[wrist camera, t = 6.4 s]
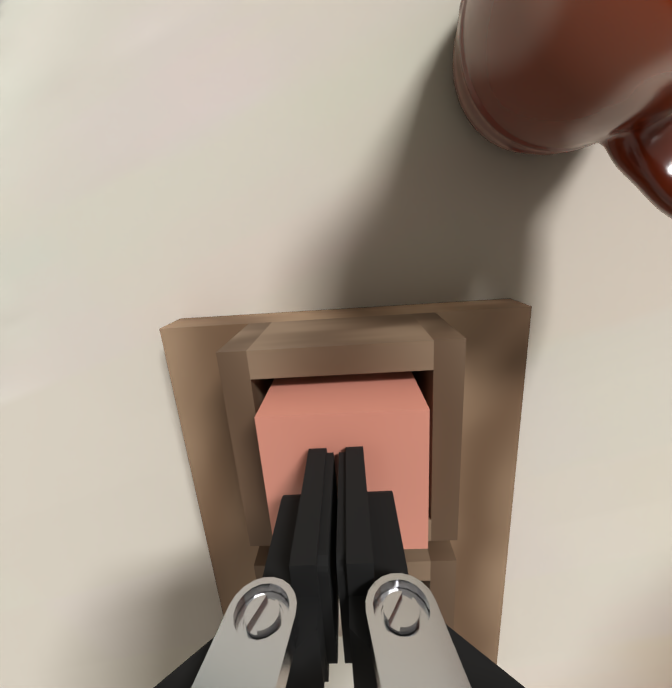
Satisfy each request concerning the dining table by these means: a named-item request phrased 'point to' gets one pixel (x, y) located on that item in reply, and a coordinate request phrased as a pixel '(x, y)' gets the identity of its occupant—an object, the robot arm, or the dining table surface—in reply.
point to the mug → (572, 81)
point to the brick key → (350, 438)
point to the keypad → (360, 358)
